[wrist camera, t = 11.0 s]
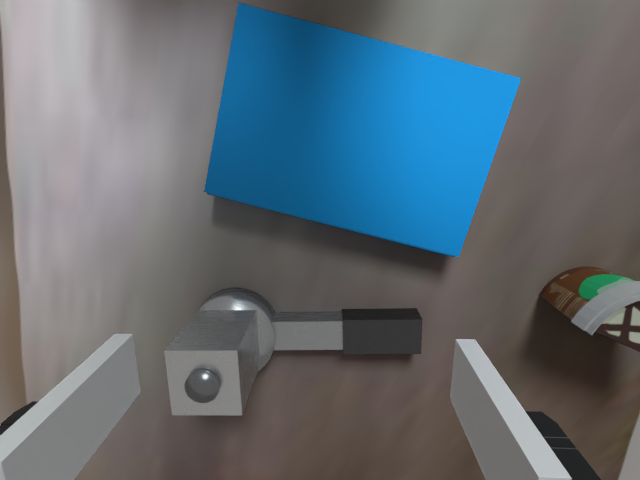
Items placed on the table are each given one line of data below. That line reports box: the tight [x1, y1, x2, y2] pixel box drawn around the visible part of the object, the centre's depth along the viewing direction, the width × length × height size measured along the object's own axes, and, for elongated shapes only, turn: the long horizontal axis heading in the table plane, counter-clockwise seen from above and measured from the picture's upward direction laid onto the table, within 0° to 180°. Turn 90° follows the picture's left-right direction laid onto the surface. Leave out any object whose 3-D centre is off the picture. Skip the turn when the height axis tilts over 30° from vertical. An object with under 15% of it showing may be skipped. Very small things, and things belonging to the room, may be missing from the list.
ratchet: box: [199, 288, 422, 372], centre depth 40 cm, size 9×24×7 cm, turn 92°
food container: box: [539, 267, 640, 352], centre depth 36 cm, size 12×6×10 cm, turn 67°
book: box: [204, 3, 521, 257], centre depth 37 cm, size 17×4×25 cm
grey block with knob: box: [164, 310, 260, 415], centre depth 36 cm, size 6×6×9 cm
